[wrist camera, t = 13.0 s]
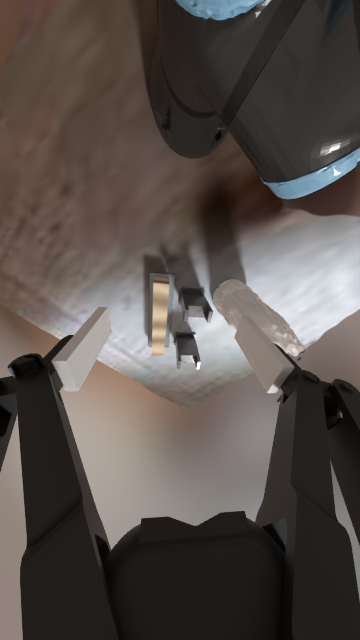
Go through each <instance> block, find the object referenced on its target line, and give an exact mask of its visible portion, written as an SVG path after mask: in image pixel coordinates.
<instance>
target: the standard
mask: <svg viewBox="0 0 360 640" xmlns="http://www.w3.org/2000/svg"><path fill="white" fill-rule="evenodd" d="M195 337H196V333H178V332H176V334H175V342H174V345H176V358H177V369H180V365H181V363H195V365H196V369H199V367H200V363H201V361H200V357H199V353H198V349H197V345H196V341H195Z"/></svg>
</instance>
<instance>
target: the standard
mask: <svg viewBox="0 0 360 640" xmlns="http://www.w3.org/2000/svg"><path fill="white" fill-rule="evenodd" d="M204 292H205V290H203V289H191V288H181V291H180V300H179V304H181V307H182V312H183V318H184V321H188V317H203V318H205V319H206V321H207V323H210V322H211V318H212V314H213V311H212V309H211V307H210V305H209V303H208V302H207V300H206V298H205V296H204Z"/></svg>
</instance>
